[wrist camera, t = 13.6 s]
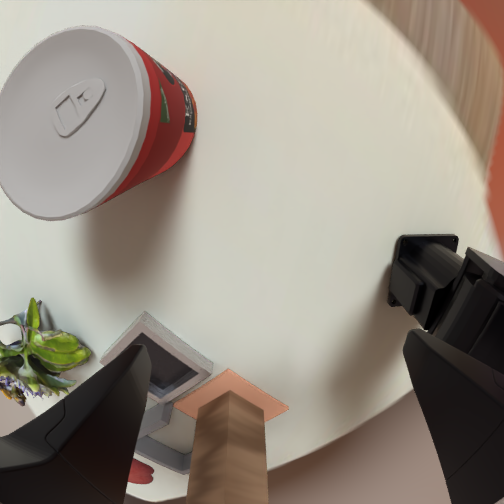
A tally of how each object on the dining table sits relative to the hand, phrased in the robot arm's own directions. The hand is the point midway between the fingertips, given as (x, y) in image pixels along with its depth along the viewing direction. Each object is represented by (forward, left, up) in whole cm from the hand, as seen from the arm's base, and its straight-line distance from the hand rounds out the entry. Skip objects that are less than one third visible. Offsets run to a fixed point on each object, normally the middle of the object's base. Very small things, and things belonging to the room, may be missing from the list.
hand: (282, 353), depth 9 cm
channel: (+11, +26, -13) cm, 31 cm away
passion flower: (+24, +10, -13) cm, 29 cm away
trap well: (+10, +13, -13) cm, 21 cm away
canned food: (+8, -8, -13) cm, 17 cm away
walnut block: (+4, +20, -13) cm, 24 cm away
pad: (+4, +20, -13) cm, 24 cm away
